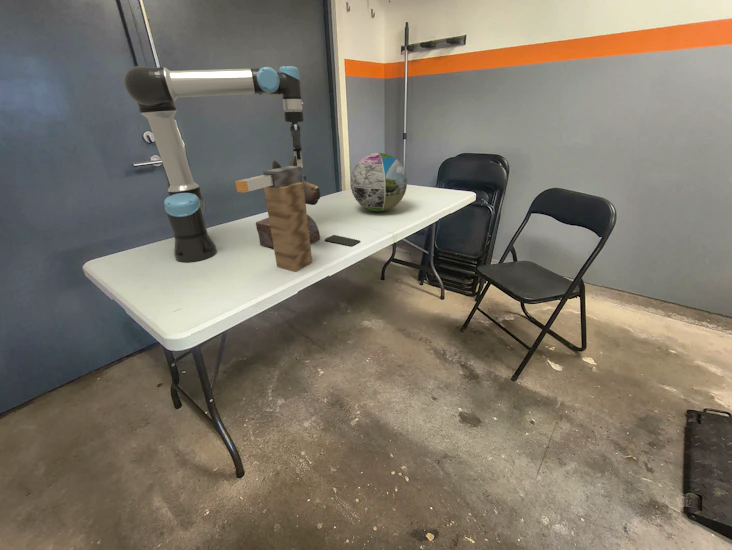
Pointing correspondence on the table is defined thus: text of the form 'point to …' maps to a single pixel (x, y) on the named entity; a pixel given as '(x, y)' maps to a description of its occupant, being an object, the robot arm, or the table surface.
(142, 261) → the table surface
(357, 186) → the photo panel ball
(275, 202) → the pedestal
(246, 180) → the orange-tipped white stick
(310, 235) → the dog bust
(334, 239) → the smartphone
